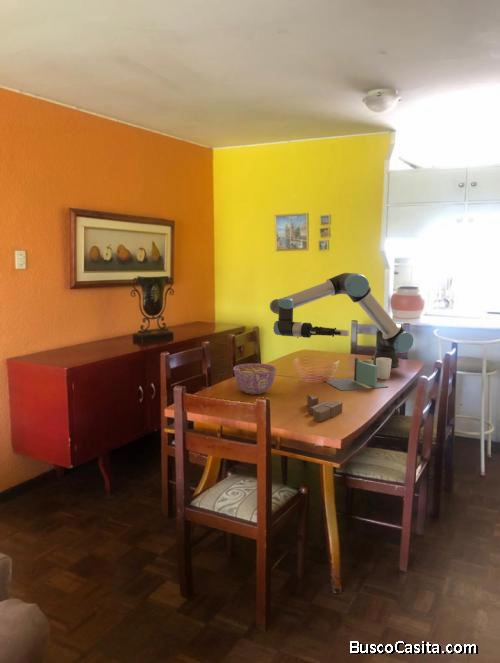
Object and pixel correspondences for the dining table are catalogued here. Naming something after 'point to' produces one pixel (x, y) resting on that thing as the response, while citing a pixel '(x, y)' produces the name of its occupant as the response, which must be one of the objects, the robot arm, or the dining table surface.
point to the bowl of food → (254, 377)
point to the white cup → (383, 367)
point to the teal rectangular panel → (366, 373)
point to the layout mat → (352, 384)
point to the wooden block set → (323, 408)
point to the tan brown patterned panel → (364, 362)
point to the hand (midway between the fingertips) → (347, 333)
